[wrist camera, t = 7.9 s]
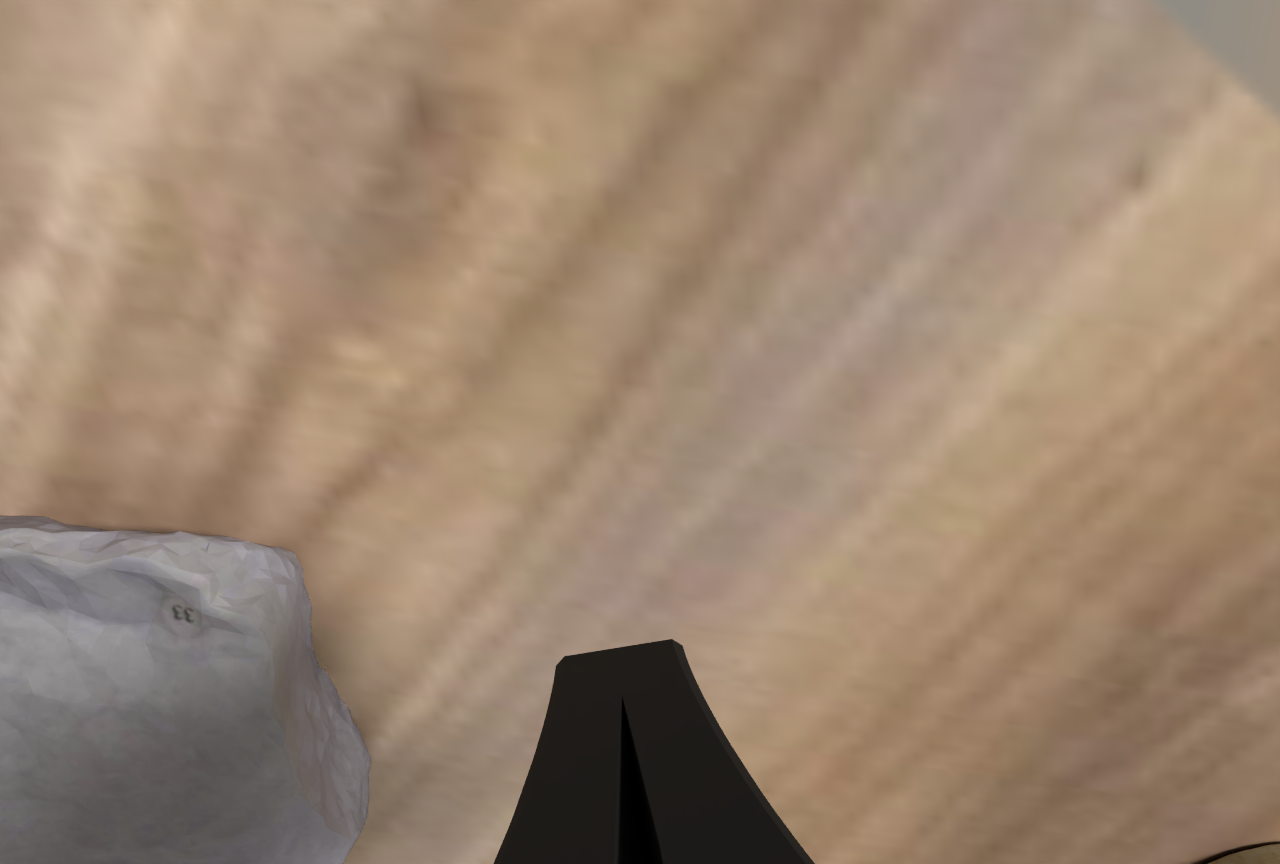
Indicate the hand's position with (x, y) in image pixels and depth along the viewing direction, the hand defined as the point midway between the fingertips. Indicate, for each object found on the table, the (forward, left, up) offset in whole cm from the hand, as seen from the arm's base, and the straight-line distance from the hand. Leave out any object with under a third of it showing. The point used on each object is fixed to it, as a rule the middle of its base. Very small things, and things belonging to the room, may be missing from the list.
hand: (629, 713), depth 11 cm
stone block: (-5, +12, -10) cm, 16 cm away
